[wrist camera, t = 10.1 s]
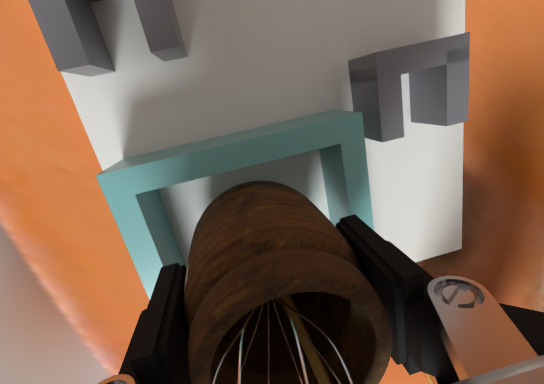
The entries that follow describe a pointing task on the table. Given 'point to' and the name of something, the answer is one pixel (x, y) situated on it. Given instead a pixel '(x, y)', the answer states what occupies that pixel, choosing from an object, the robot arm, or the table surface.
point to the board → (269, 111)
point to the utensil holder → (279, 295)
